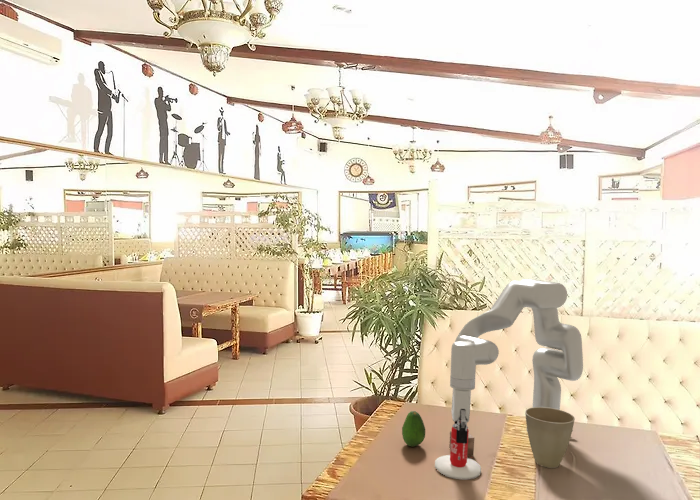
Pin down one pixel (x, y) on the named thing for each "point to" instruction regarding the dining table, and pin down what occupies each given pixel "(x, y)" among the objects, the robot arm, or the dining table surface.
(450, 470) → the ceramic plate
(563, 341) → the robot arm
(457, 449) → the beverage can
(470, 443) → the walnut block
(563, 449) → the plant pot
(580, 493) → the dining table surface
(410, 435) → the avocado
